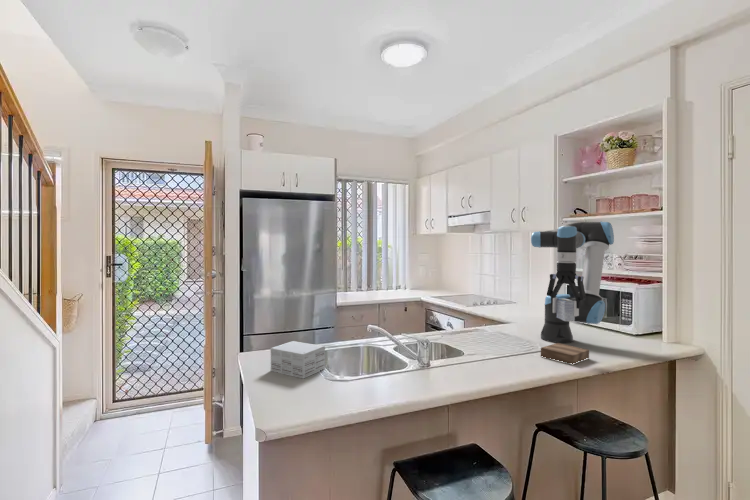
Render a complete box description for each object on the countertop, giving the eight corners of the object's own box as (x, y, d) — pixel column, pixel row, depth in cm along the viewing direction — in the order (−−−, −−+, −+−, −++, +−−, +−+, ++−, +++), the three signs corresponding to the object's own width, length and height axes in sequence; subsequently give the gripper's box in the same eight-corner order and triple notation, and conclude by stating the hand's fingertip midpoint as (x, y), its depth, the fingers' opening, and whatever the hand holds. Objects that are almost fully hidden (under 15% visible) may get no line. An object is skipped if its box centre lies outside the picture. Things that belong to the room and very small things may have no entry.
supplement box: (325, 369, 156) (325, 345, 156) (303, 379, 145) (303, 354, 144) (293, 362, 164) (293, 339, 164) (270, 371, 153) (270, 347, 153)
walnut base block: (557, 351, 182) (557, 342, 181) (588, 359, 170) (589, 349, 170) (540, 356, 173) (540, 347, 173) (572, 365, 162) (572, 355, 162)
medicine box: (574, 321, 167) (575, 301, 167) (564, 321, 167) (564, 301, 167) (566, 317, 175) (566, 298, 175) (556, 317, 175) (556, 298, 175)
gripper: (538, 261, 177) (537, 311, 178) (587, 263, 160) (586, 319, 160) (547, 260, 181) (546, 309, 182) (596, 263, 164) (595, 317, 165)
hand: (565, 314), depth 171 cm, fingers closed on medicine box, 9 cm apart
